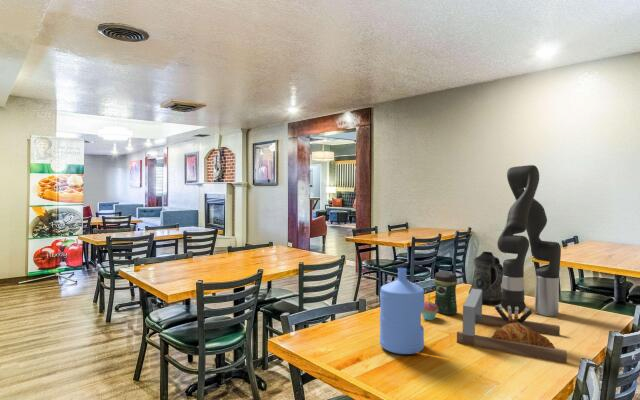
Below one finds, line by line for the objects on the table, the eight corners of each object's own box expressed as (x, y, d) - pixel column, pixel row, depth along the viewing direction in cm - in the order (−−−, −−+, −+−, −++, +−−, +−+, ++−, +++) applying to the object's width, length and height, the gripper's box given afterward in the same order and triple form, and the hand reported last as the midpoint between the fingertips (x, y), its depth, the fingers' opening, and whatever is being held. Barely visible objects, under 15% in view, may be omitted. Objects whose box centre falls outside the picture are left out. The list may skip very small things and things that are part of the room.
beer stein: (478, 294, 203) (478, 248, 203) (515, 302, 188) (516, 253, 188) (462, 299, 193) (463, 251, 192) (500, 308, 178) (501, 256, 177)
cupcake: (439, 322, 159) (439, 294, 159) (419, 320, 161) (419, 293, 160) (437, 315, 167) (437, 289, 167) (417, 314, 169) (418, 288, 169)
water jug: (398, 358, 124) (399, 275, 123) (371, 342, 137) (371, 266, 137) (433, 350, 131) (434, 270, 130) (404, 334, 145) (404, 263, 144)
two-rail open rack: (466, 319, 162) (467, 287, 162) (559, 334, 146) (559, 299, 145) (456, 342, 137) (457, 304, 137) (566, 363, 121) (567, 320, 121)
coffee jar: (459, 313, 171) (460, 273, 170) (449, 316, 166) (450, 275, 165) (441, 308, 178) (441, 269, 178) (431, 311, 173) (431, 271, 173)
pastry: (496, 351, 130) (496, 329, 129) (484, 337, 142) (484, 316, 142) (559, 355, 127) (559, 332, 127) (541, 340, 140) (542, 319, 140)
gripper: (533, 286, 141) (532, 331, 142) (494, 283, 148) (494, 325, 148) (533, 292, 135) (533, 339, 135) (493, 287, 141) (493, 332, 142)
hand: (513, 332), depth 142 cm, fingers closed
